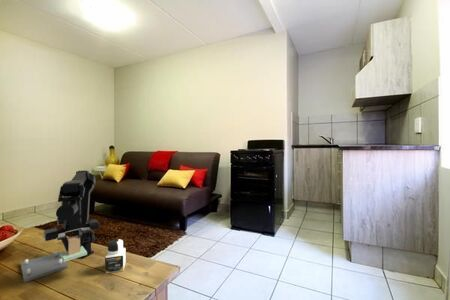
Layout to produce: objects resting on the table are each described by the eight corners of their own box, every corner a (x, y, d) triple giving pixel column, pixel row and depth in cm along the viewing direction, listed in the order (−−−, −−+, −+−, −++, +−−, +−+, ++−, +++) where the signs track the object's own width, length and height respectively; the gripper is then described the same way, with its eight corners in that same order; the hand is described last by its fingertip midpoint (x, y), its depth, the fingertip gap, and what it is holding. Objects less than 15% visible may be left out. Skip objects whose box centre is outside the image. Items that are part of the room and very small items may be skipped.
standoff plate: (67, 268, 97) (66, 261, 97) (24, 282, 87) (23, 274, 87) (59, 254, 109) (59, 247, 109) (20, 265, 99) (20, 258, 99)
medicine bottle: (104, 273, 93) (104, 245, 92) (108, 265, 99) (108, 238, 99) (123, 271, 95) (123, 243, 94) (125, 262, 101) (125, 236, 101)
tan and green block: (87, 254, 92) (86, 237, 92) (63, 261, 87) (63, 243, 87) (82, 248, 98) (81, 232, 98) (59, 254, 92) (59, 237, 92)
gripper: (92, 204, 104) (92, 237, 105) (41, 213, 91) (42, 250, 91) (99, 209, 97) (100, 244, 97) (45, 219, 83) (46, 260, 84)
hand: (73, 249), depth 92 cm, fingers closed on tan and green block, 4 cm apart
